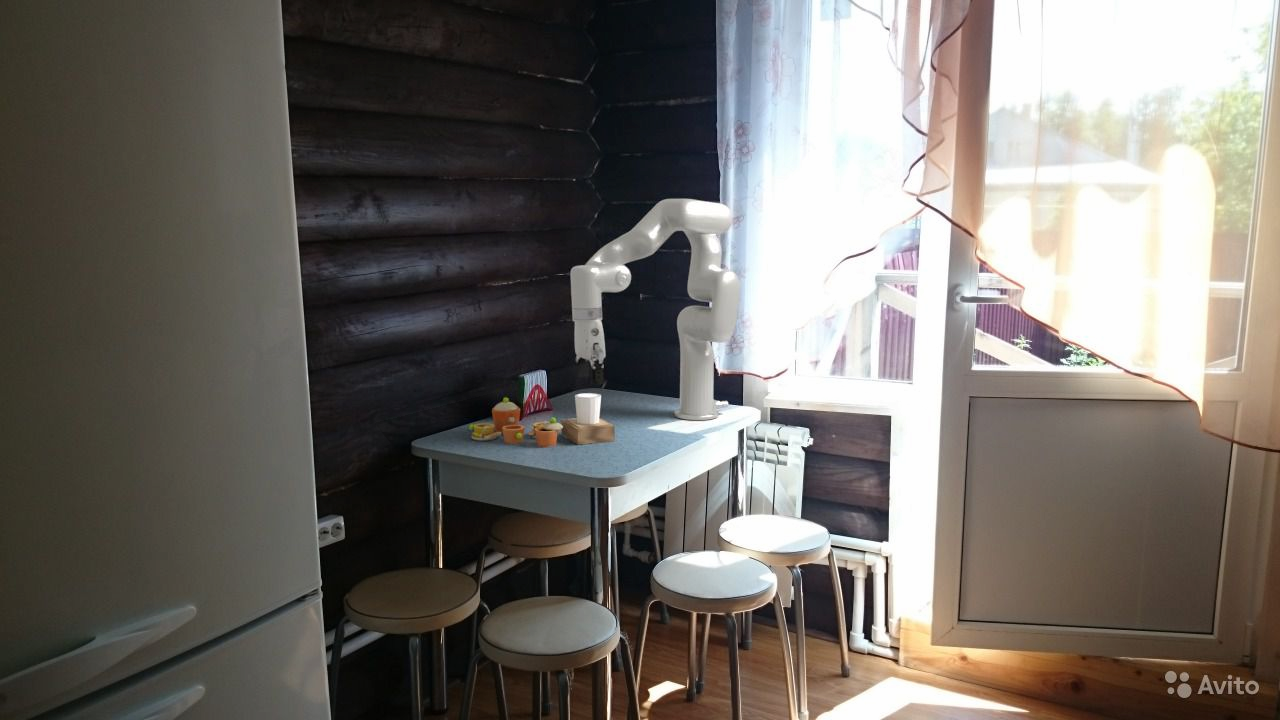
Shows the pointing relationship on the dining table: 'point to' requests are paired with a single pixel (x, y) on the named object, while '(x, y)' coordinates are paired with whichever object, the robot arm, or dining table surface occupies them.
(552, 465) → the dining table surface
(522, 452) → the dining table surface
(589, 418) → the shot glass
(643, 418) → the dining table surface
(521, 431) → the toy tea set
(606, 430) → the riser
